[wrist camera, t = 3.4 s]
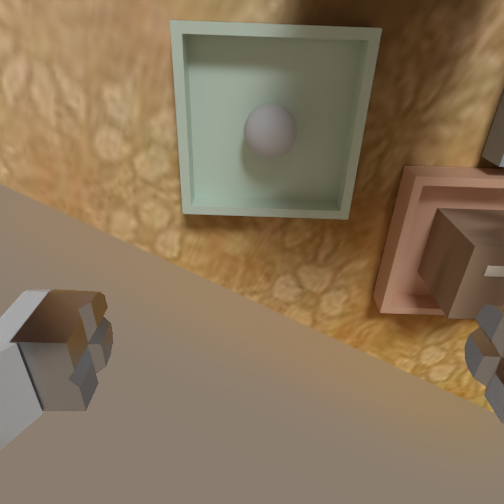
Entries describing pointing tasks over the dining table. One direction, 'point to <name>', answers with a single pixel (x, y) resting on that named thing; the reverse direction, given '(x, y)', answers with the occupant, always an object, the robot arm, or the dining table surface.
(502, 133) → the dish slate
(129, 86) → the dining table surface
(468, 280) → the letter cube
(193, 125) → the dish sage
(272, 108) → the rubber ball
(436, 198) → the dish terracotta
